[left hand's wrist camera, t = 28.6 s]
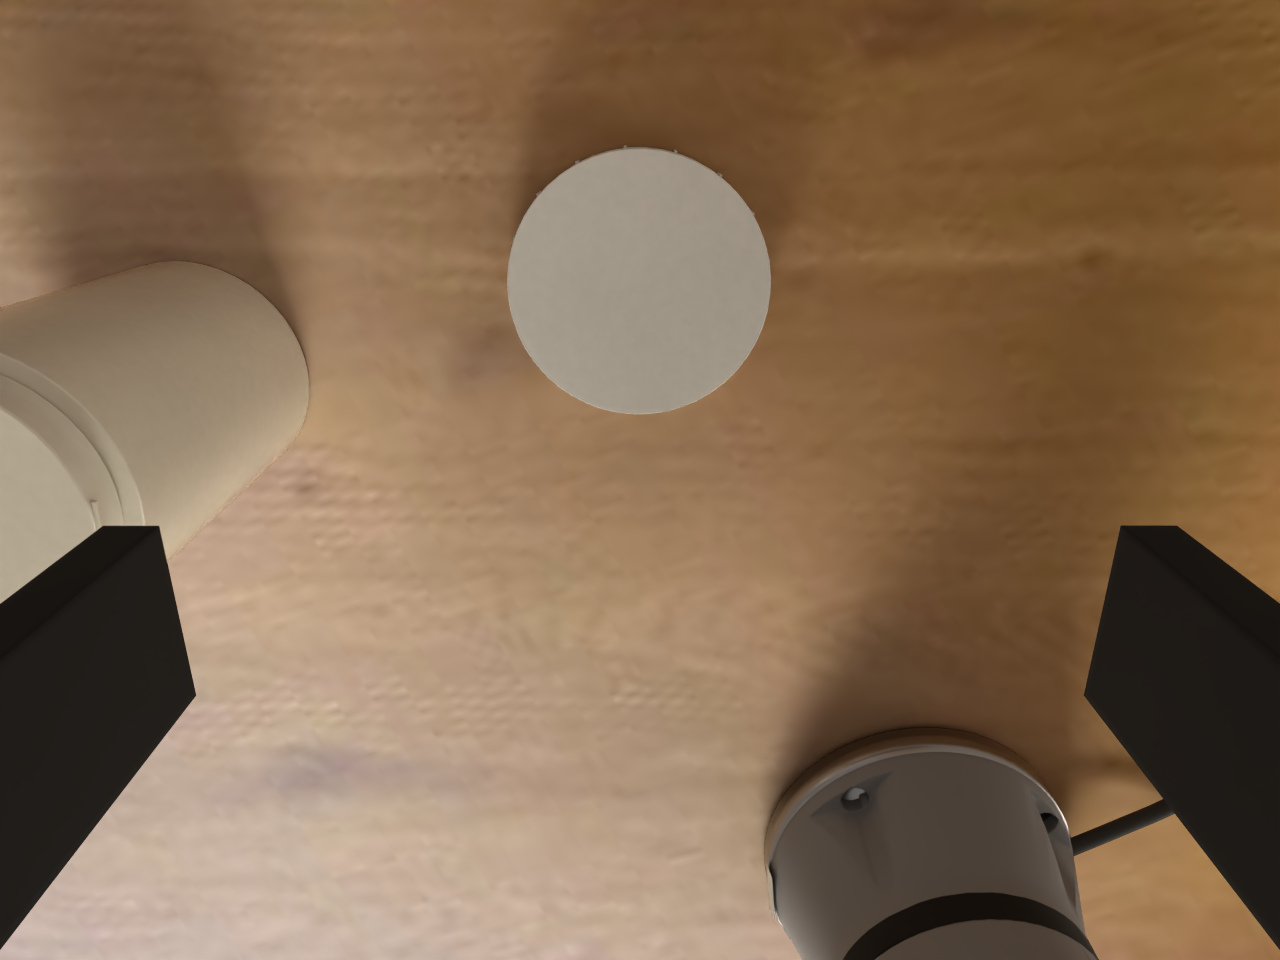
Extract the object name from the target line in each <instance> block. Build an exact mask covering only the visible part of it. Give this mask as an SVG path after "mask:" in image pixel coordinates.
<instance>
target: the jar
mask: <svg viewBox="0 0 1280 960" xmlns="http://www.w3.org/2000/svg"><path fill="white" fill-rule="evenodd" d="M308 403H309V377H308V371H307V366H306V362H305V358H304V356H303V353H302V350H301V347H300V345H299V343H298V341H297V339H296V337H295V335H294V333H293V331H292V329H291V328H290V326H289V325H288V323H287V322H286V320H285V319H284V318H283V316H282V315H281V314H280V313H279V311H278V310H277V309H276V308H275V307H274V306H273V305H272V304H271V303H270V302H269V301H268V300H267V299H266V298H265V297H264V296H263V295H262V294H260V293H259V292H258V291H257V290H255V289H254V288H253V287H251V286H250V285H248V284H247V283H245V282H243V281H242V280H240V279H238V278H237V277H235V276H233V275H231V274H229V273H226V272H224V271H222V270H220V269H216V268H213V267H210V266H207V265H203V264H198V263H193V262H183V261H166V262H156V263H152V264H147V265H143V266H140V267H136V268H133V269H129V270H126V271H123V272H119V273H116V274H113V275H109V276H106V277H102V278H99V279H96V280H92V281H89V282H85V283H82V284H79V285H75V286H72V287H68V288H65V289H62V290H58V291H55V292H52V293H48V294H45V295H41V296H38V297H35V298H31V299H28V300H24V301H21V302H18V303H14V304H11V305H7V306H4V307H1V308H0V603H2V602H3V601H4V600H6V599H7V598H8V597H10V596H11V595H12V594H14V593H15V592H16V591H18V590H19V589H20V588H22V587H23V586H24V585H26V584H27V583H28V582H30V581H31V580H32V579H33V578H35V577H36V576H37V575H39V574H40V573H41V572H43V571H44V570H45V569H47V568H48V567H49V566H51V565H52V564H53V563H55V562H56V561H57V560H59V559H60V558H61V557H62V556H64V555H65V554H66V553H68V552H69V551H70V550H72V549H73V548H74V547H76V546H77V545H78V544H80V543H81V542H82V541H84V540H85V539H86V538H88V537H89V536H90V535H92V534H93V533H94V532H95V531H97V530H98V529H99V528H101V527H102V526H159V527H160V532H161V536H162V541H163V545H164V550H165V555H166V559H167V563H168V562H169V561H170V560H171V559H172V558H173V557H174V556H175V555H176V554H177V553H178V552H179V551H181V550H182V549H183V548H184V547H185V546H186V545H187V544H188V543H189V542H190V541H191V540H192V539H193V538H194V537H195V536H197V535H198V534H199V533H200V532H201V531H202V530H203V529H204V528H205V527H206V526H207V525H208V524H209V523H210V522H211V521H212V520H214V519H215V518H216V517H217V516H218V515H219V514H220V513H221V512H222V511H223V510H224V509H225V508H226V507H227V506H228V505H230V504H231V503H232V502H233V501H234V500H235V499H236V498H237V497H238V496H239V495H240V494H241V493H242V492H243V491H244V490H245V489H247V488H248V487H249V486H250V485H251V484H252V483H253V482H254V481H255V480H256V479H257V478H258V477H259V476H260V475H261V474H263V473H264V472H265V471H266V470H267V469H268V468H269V467H270V466H271V465H272V464H273V463H274V462H275V461H276V460H277V459H278V458H280V457H281V456H282V455H283V454H284V453H285V452H286V451H287V450H288V448H289V447H290V446H291V445H292V443H293V442H294V441H295V439H296V437H297V436H298V434H299V432H300V430H301V428H302V425H303V423H304V420H305V417H306V413H307V408H308Z"/></svg>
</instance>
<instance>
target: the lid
mask: <svg viewBox="0 0 1280 960" xmlns="http://www.w3.org/2000/svg"><path fill="white" fill-rule="evenodd" d="M721 177H722V175H721V174H720V173H719V172H718V173H717V174H716V173H715V172H714V171H712V170H711V169H709V168H708V167H706V166H704V165H703V164H701V163H699V162H698V161H696V160H694V159H691V158H689V157H687V156H684V155H682V154H679V153H677V150H673V152H672V151H668V150H664V149H658V148H650V147H627V145H624V148H620V149H614V150H609V151H606V152H602V153H599V154H596V155H593V156H591V157H589V158H587V159H584V160H582V161H580V160H577V161H576V162H575V165H573V166H572V167H570V168H569V169H567V170H566V171H564V172H563V173H561V174H560V175H559V176H558V177H556V178H555V179H554V180H553V181H552V182H551V183H549V184H548V185H547V186H546V187H545V188H544V189H543V191H542V192H541V191H540V192H538V193H537V194H536V196H537V197H536V198H535V200H534V201H533V203H532V204H531V206H530V207H529V209H528V210H527V212H526V213H525V215H524V217H523V219H522V221H521V223H520V225H519V227H518V229H517V231H516V234H515V236H514V237H513V239H512V240H513V244H512V247H511V251H510V256H509V262H508V272H507V290H508V301H509V306H510V311H511V316H512V319H513V322H514V325H515V328H516V331H517V333H518V335H519V337H520V339H521V341H522V343H523V345H524V347H525V349H526V351H527V352H528V354H529V355H530V357H531V358H532V360H533V361H534V362H535V364H536V365H537V366H538V367H539V368H540V369H541V371H542V372H543V373H544V374H545V375H546V376H547V377H548V378H549V379H550V380H551V381H553V382H554V383H555V384H556V385H557V386H558V387H560V388H561V389H563V390H564V391H566V392H567V393H568V394H570V395H571V396H573V397H575V398H577V399H579V400H581V401H583V402H585V403H587V404H590V405H593V406H595V407H598V408H601V409H605V410H609V411H613V412H618V413H627V414H652V413H659V412H666V411H669V410H673V409H677V408H680V407H683V406H686V405H688V404H690V403H693V402H695V401H697V400H699V399H701V398H703V397H704V396H706V395H708V394H710V393H711V392H713V391H714V390H715V389H717V388H718V387H719V386H721V385H722V384H723V383H725V382H726V381H727V380H728V379H729V378H730V377H731V376H732V375H733V374H734V373H735V372H736V371H737V370H738V368H739V367H740V366H741V365H742V363H743V362H744V361H745V360H746V358H747V357H748V355H749V353H750V352H751V350H752V349H753V347H754V345H755V344H756V341H757V339H758V337H759V335H760V332H761V330H762V328H763V325H764V321H765V318H766V315H767V311H768V305H769V299H770V287H771V274H770V263H769V262H770V259H769V257H768V252H767V248H766V244H765V241H764V238H763V235H762V233H761V230H760V227H759V225H758V223H757V221H756V219H755V218H754V216H753V215H755V214H754V212H753V211H752V210H750V209H749V207H748V206H747V205H746V203H745V202H744V200H743V199H742V198H741V196H740V195H739V194H738V193H737V192H736V191H735V190H734V189H733V188H732V187H731V186H730V185H729V184H728V182H726V181H725V180H724V179H723V178H721Z"/></svg>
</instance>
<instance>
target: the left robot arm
mask: <svg viewBox="0 0 1280 960" xmlns="http://www.w3.org/2000/svg"><path fill="white" fill-rule="evenodd" d="M195 696H196V693H195V688H194V684H193V679H192V674H191V670H190V665H189V661H188V656H187V651H186V647H185V642H184V638H183V633H182V628H181V624H180V619H179V615H178V610H177V605H176V601H175V596H174V592H173V587H172V582H171V578H170V573H169V568H168V564H167V559H166V555H165V550H164V545H163V541H162V536H161V532H160V527H159V526H102V527H101V528H99V529H98V530H97V531H95V532H94V533H93V534H92V535H90V536H89V537H88V538H86V539H85V540H84V541H82V542H81V543H80V544H78V545H77V546H76V547H74V548H73V549H72V550H70V551H69V552H68V553H66V554H65V555H64V556H62V557H61V558H60V559H59V560H57V561H56V562H55V563H53V564H52V565H51V566H49V567H48V568H47V569H45V570H44V571H43V572H41V573H40V574H39V575H37V576H36V577H35V578H33V579H32V580H31V581H30V582H28V583H27V584H26V585H24V586H23V587H22V588H20V589H19V590H18V591H16V592H15V593H14V594H12V595H11V596H10V597H8V598H7V599H6V600H4V601H3V602H2V603H0V949H1V948H2V947H3V945H4V944H5V943H6V942H7V940H8V939H9V938H10V936H11V935H12V934H13V932H14V931H15V930H16V929H17V927H18V926H19V925H20V923H21V922H22V921H23V920H24V918H25V917H26V916H27V914H28V913H29V912H30V910H31V909H32V908H33V907H34V905H35V904H36V903H37V901H38V900H39V899H40V897H41V896H42V895H43V894H44V892H45V891H46V890H47V888H48V887H49V886H50V884H51V883H52V882H53V881H54V879H55V878H56V877H57V875H58V874H59V873H60V871H61V870H62V869H63V868H64V866H65V865H66V864H67V862H68V861H69V860H70V858H71V857H72V856H73V855H74V853H75V852H76V851H77V849H78V848H79V847H80V845H81V844H82V843H83V842H84V840H85V839H86V838H87V836H88V835H89V834H90V832H91V831H92V830H93V829H94V827H95V826H96V825H97V823H98V822H99V821H100V820H101V818H102V817H103V816H104V814H105V813H106V812H107V810H108V809H109V808H110V807H111V805H112V804H113V803H114V801H115V800H116V799H117V797H118V796H119V795H120V794H121V792H122V791H123V790H124V788H125V787H126V786H127V784H128V783H129V782H130V781H131V779H132V778H133V777H134V775H135V774H136V773H137V771H138V770H139V769H140V768H141V766H142V765H143V764H144V762H145V761H146V760H147V758H148V757H149V756H150V755H151V753H152V752H153V751H154V749H155V748H156V747H157V745H158V744H159V743H160V742H161V740H162V739H163V738H164V736H165V735H166V734H167V732H168V731H169V730H170V729H171V727H172V726H173V725H174V723H175V722H176V721H177V720H178V718H179V717H180V716H181V714H182V713H183V712H184V710H185V709H186V708H187V707H188V705H189V704H190V703H191V701H192V700H193V699H194V697H195ZM1084 696H1085V697H1086V699H1087V700H1088V701H1089V703H1090V704H1091V705H1092V707H1093V708H1094V709H1095V710H1096V712H1097V713H1098V714H1099V716H1100V717H1101V718H1102V720H1103V721H1104V722H1105V723H1106V725H1107V726H1108V727H1109V729H1110V730H1111V731H1112V732H1113V734H1114V735H1115V736H1116V738H1117V739H1118V740H1119V742H1120V743H1121V744H1122V745H1123V747H1124V748H1125V749H1126V751H1127V752H1128V753H1129V755H1130V756H1131V757H1132V758H1133V760H1134V761H1135V762H1136V764H1137V765H1138V766H1139V768H1140V769H1141V770H1142V771H1143V773H1144V774H1145V775H1146V777H1147V778H1148V779H1149V781H1150V782H1151V783H1152V784H1153V786H1154V787H1155V788H1156V790H1157V791H1158V792H1159V794H1160V795H1161V796H1162V797H1163V799H1162V800H1160V801H1158V802H1156V803H1154V804H1152V805H1149V806H1147V807H1145V808H1143V809H1140V810H1138V811H1135V812H1133V813H1130V814H1128V815H1125V816H1123V817H1121V818H1118V819H1116V820H1113V821H1111V822H1109V823H1106V824H1104V825H1101V826H1099V827H1097V828H1094V829H1092V830H1089V831H1087V832H1084V833H1082V834H1079V835H1077V836H1074V837H1072V838H1070V833H1069V829H1068V826H1067V823H1066V821H1065V818H1064V816H1063V814H1062V812H1061V810H1060V809H1059V807H1058V805H1057V804H1056V802H1055V801H1054V799H1053V797H1052V796H1051V794H1050V792H1049V791H1048V789H1047V787H1046V786H1045V784H1044V782H1043V781H1042V779H1041V778H1040V777H1039V775H1038V774H1037V773H1036V772H1035V770H1034V769H1033V768H1032V767H1031V766H1030V765H1029V764H1028V763H1027V762H1026V761H1025V760H1023V759H1022V758H1021V757H1019V756H1018V755H1017V754H1016V753H1014V752H1012V751H1011V750H1009V749H1008V748H1006V747H1004V746H1002V745H1000V744H998V743H996V742H994V741H992V740H990V739H987V738H984V737H981V736H979V735H975V734H971V733H968V732H963V731H958V730H952V729H942V728H911V729H902V730H895V731H889V732H885V733H881V734H876V735H873V736H870V737H867V738H864V739H860V740H858V741H856V742H853V743H851V744H848V745H846V746H844V747H842V748H840V749H838V750H836V751H834V752H832V753H831V754H829V755H828V756H826V757H824V758H823V759H821V760H820V761H818V762H817V763H816V764H814V765H813V766H812V767H810V768H809V769H808V770H807V771H806V772H805V773H804V774H802V775H801V776H800V777H799V778H798V779H797V780H796V781H795V782H794V784H793V785H792V786H791V787H790V788H789V789H788V791H787V792H786V793H785V795H784V796H783V797H782V799H781V801H780V802H779V804H778V806H777V807H776V809H775V811H774V813H773V816H772V818H771V820H770V823H769V826H768V829H767V833H766V838H765V846H764V863H765V869H766V875H767V881H768V892H769V906H770V911H771V914H772V917H773V920H774V922H775V914H776V916H777V918H778V920H779V922H780V923H781V925H782V927H783V928H784V930H785V931H786V933H787V935H788V936H789V938H790V939H791V941H792V942H793V944H794V946H795V948H796V949H797V951H798V953H799V955H800V956H801V958H802V960H1099V959H1098V958H1097V956H1096V954H1095V952H1094V950H1093V948H1092V946H1091V945H1090V943H1089V941H1088V939H1087V937H1086V935H1085V930H1084V923H1083V917H1082V910H1081V903H1080V897H1079V890H1078V883H1077V877H1076V870H1075V863H1074V857H1073V856H1075V855H1078V854H1080V853H1083V852H1085V851H1088V850H1090V849H1093V848H1095V847H1097V846H1100V845H1102V844H1105V843H1107V842H1110V841H1112V840H1114V839H1117V838H1119V837H1121V836H1124V835H1126V834H1129V833H1131V832H1133V831H1136V830H1138V829H1141V828H1143V827H1145V826H1148V825H1150V824H1153V823H1155V822H1157V821H1160V820H1162V819H1164V818H1166V817H1168V816H1170V815H1173V814H1176V816H1177V817H1178V818H1179V820H1180V821H1181V822H1182V823H1183V825H1184V826H1185V827H1186V829H1187V830H1188V831H1189V832H1190V834H1191V835H1192V836H1193V838H1194V839H1195V840H1196V842H1197V843H1198V844H1199V845H1200V847H1201V848H1202V849H1203V851H1204V852H1205V853H1206V855H1207V856H1208V857H1209V858H1210V860H1211V861H1212V862H1213V864H1214V865H1215V866H1216V868H1217V869H1218V870H1219V871H1220V873H1221V874H1222V875H1223V877H1224V878H1225V879H1226V881H1227V882H1228V883H1229V884H1230V886H1231V887H1232V888H1233V890H1234V891H1235V892H1236V894H1237V895H1238V896H1239V897H1240V899H1241V900H1242V901H1243V903H1244V904H1245V905H1246V907H1247V908H1248V909H1249V910H1250V912H1251V913H1252V914H1253V916H1254V917H1255V918H1256V920H1257V921H1258V922H1259V923H1260V925H1261V926H1262V927H1263V929H1264V930H1265V931H1266V932H1267V934H1268V935H1269V936H1270V938H1271V939H1272V940H1273V942H1274V943H1275V944H1276V945H1277V947H1278V948H1279V949H1280V603H1278V602H1277V601H1276V600H1274V599H1273V598H1272V597H1270V596H1269V595H1268V594H1266V593H1265V592H1264V591H1262V590H1261V589H1260V588H1258V587H1257V586H1256V585H1254V584H1253V583H1252V582H1250V581H1249V580H1248V579H1247V578H1245V577H1244V576H1243V575H1241V574H1240V573H1239V572H1237V571H1236V570H1235V569H1233V568H1232V567H1231V566H1229V565H1228V564H1227V563H1225V562H1224V561H1223V560H1221V559H1220V558H1219V557H1218V556H1216V555H1215V554H1214V553H1212V552H1211V551H1210V550H1208V549H1207V548H1206V547H1204V546H1203V545H1202V544H1200V543H1199V542H1198V541H1196V540H1195V539H1194V538H1192V537H1191V536H1190V535H1188V534H1187V533H1186V532H1185V531H1183V530H1182V529H1181V528H1179V527H1178V526H1121V527H1120V532H1119V536H1118V541H1117V545H1116V550H1115V555H1114V559H1113V564H1112V568H1111V573H1110V578H1109V582H1108V587H1107V592H1106V596H1105V601H1104V605H1103V610H1102V615H1101V619H1100V624H1099V628H1098V633H1097V638H1096V642H1095V647H1094V651H1093V656H1092V661H1091V665H1090V670H1089V674H1088V679H1087V684H1086V688H1085V693H1084ZM774 911H775V913H774Z"/></svg>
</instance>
